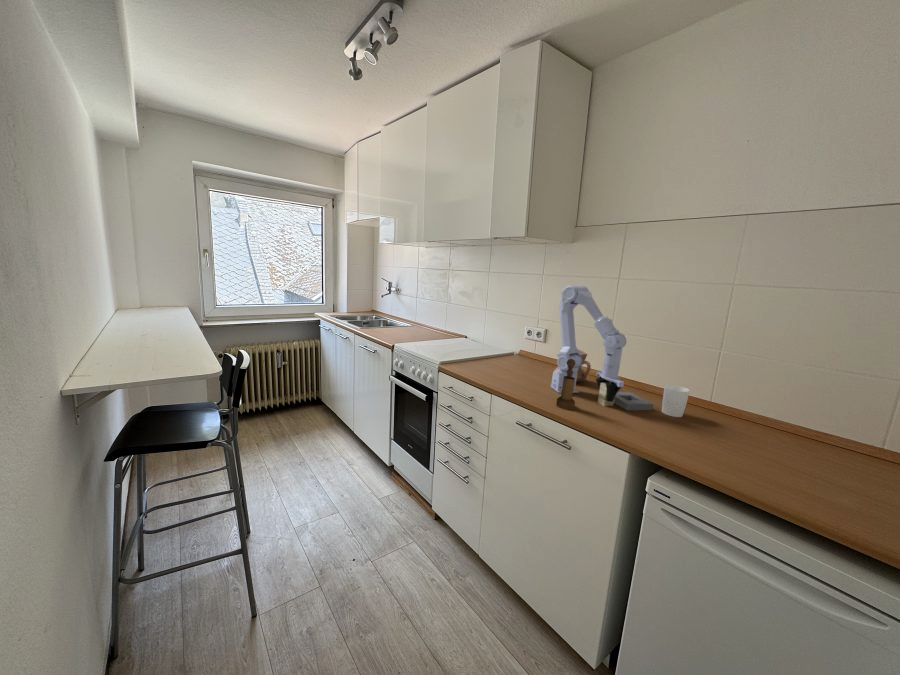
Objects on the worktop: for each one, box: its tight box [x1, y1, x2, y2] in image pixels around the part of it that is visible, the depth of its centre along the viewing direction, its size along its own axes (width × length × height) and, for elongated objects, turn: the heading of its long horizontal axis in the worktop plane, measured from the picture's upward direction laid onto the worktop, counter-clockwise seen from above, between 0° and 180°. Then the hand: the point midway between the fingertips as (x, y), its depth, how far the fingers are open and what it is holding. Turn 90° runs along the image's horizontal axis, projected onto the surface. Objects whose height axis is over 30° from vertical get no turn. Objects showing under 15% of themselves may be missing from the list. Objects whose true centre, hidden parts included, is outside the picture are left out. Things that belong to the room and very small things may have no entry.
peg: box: [597, 383, 615, 407], centre depth 138 cm, size 4×4×8 cm
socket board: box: [614, 391, 654, 411], centre depth 141 cm, size 11×13×2 cm
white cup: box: [661, 384, 690, 418], centre depth 133 cm, size 8×8×10 cm
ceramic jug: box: [554, 347, 592, 383], centre depth 167 cm, size 18×14×14 cm
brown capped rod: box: [555, 359, 576, 410], centre depth 132 cm, size 7×6×18 cm
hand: (606, 399), depth 139 cm, fingers closed on peg, 4 cm apart
